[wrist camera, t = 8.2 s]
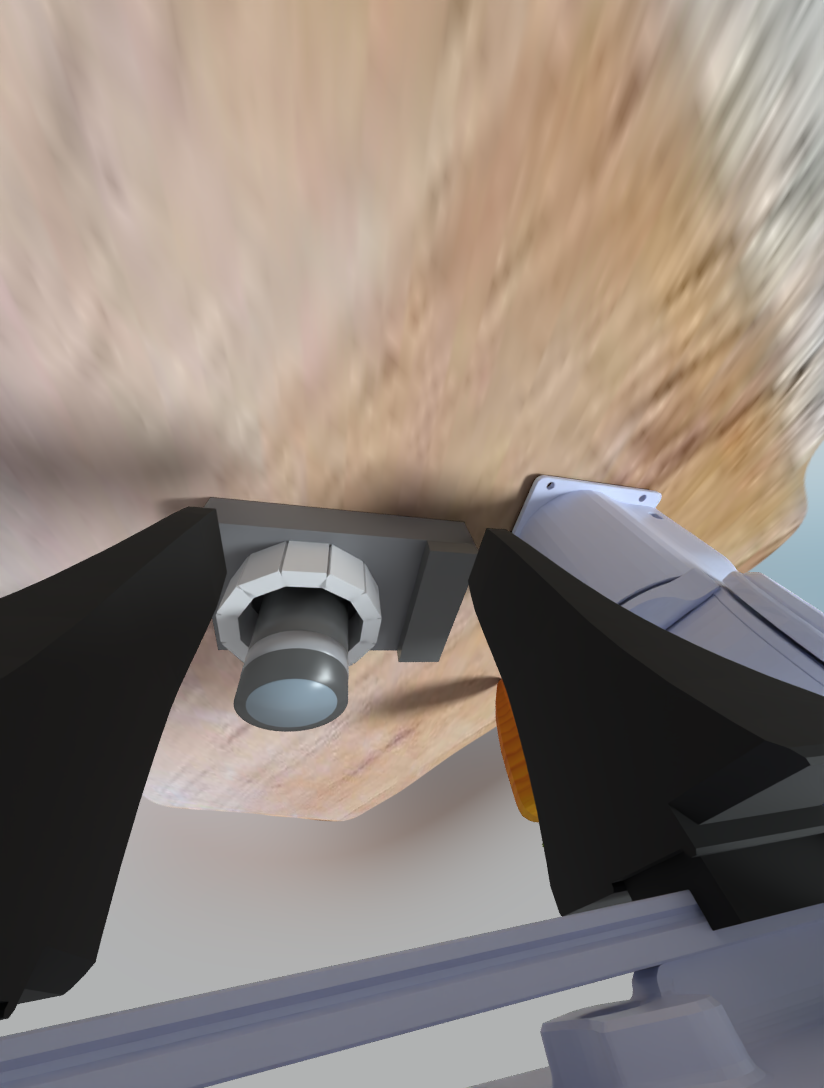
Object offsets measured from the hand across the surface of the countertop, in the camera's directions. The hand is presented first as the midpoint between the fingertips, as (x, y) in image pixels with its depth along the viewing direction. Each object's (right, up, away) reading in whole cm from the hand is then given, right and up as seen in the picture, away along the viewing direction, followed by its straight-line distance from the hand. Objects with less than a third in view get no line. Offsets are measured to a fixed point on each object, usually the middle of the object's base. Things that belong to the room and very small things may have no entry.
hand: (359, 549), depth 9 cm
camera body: (-3, -2, +14) cm, 14 cm away
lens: (-5, -3, +11) cm, 13 cm away
